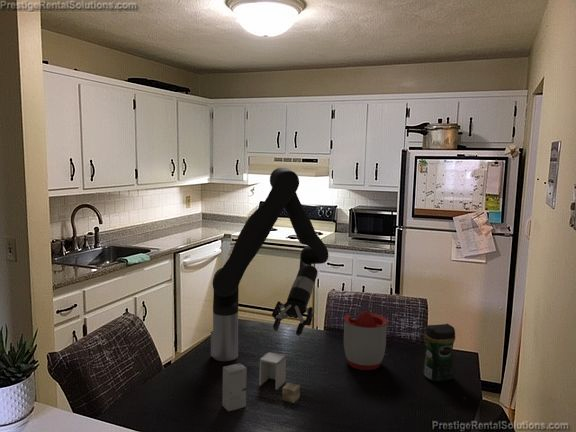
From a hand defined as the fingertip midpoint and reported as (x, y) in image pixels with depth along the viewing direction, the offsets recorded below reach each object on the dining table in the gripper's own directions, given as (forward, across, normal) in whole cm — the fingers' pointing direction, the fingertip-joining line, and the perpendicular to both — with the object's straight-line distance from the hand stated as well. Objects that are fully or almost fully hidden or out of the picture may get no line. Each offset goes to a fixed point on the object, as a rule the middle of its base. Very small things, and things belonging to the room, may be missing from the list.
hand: (286, 332), depth 161 cm
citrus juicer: (-4, +22, +24) cm, 33 cm away
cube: (+21, +10, -1) cm, 23 cm away
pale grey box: (+17, 0, +3) cm, 17 cm away
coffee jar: (-5, +48, +25) cm, 54 cm away
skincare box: (+30, -3, -9) cm, 31 cm away
